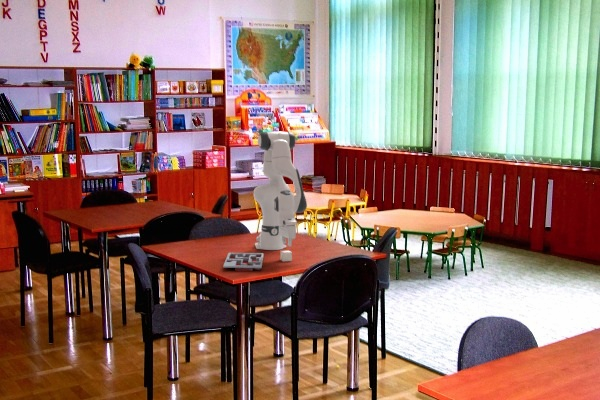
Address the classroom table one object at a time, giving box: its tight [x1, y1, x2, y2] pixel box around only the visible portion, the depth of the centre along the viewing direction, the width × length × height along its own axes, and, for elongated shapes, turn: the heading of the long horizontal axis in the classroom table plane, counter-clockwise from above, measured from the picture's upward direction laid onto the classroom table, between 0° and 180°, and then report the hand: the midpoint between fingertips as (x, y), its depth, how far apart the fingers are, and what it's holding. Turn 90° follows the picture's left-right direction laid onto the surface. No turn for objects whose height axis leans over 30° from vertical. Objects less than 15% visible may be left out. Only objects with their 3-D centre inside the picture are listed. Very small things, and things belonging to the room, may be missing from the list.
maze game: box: [222, 252, 264, 272], centre depth 388 cm, size 35×20×3 cm, turn 1°
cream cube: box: [280, 250, 293, 262], centre depth 400 cm, size 5×5×5 cm
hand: (286, 245), depth 399 cm, fingers open, 8 cm apart
